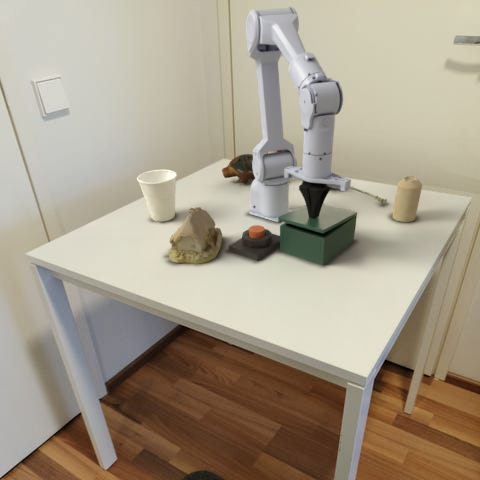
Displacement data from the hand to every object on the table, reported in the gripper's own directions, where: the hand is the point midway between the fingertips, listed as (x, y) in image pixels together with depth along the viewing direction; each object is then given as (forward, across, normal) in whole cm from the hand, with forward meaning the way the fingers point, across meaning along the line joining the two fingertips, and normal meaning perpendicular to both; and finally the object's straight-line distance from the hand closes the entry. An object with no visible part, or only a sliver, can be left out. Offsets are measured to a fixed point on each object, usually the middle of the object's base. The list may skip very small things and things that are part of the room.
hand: (313, 216), depth 96 cm
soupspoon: (+8, +9, -34) cm, 36 cm away
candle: (+8, -9, -27) cm, 30 cm away
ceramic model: (+8, +21, +15) cm, 27 cm away
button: (+5, +11, +6) cm, 13 cm away
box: (+8, 0, -2) cm, 8 cm away
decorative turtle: (+4, +40, -25) cm, 48 cm away
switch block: (+8, +11, +6) cm, 15 cm away
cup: (+8, +41, +8) cm, 43 cm away
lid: (+1, 0, -2) cm, 2 cm away
